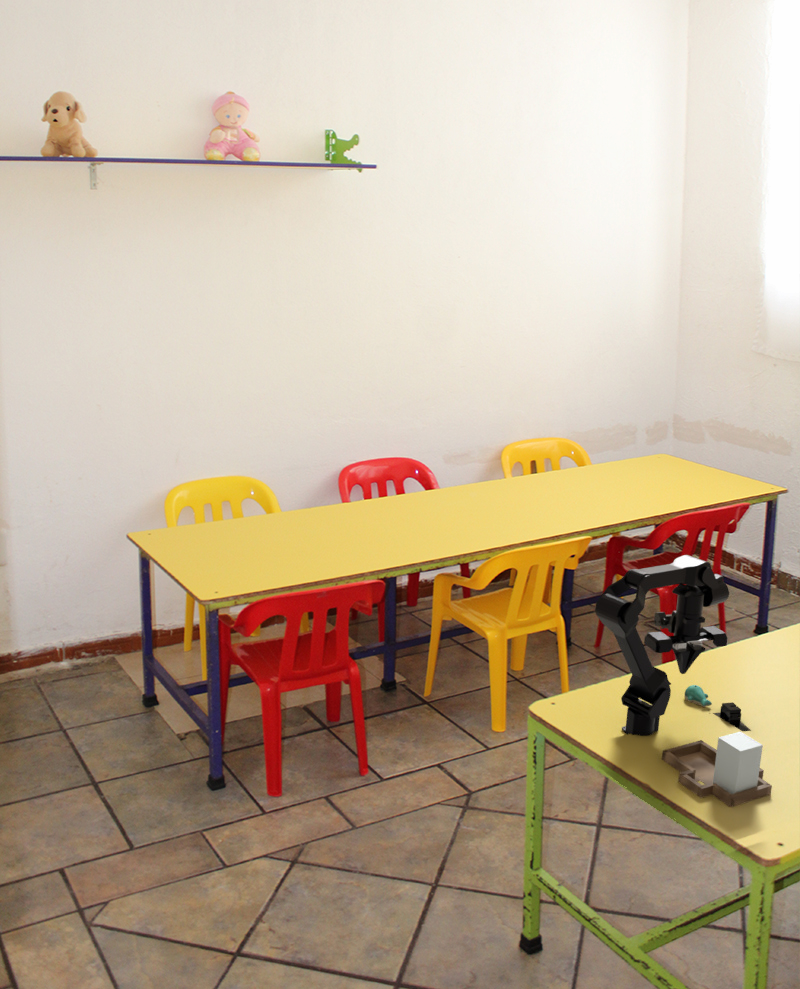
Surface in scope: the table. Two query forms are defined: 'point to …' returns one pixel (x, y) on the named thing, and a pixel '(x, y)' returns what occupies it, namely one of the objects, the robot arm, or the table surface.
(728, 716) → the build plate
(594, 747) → the table surface
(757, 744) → the block
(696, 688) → the whale figurine
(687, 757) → the brown compartment tray
